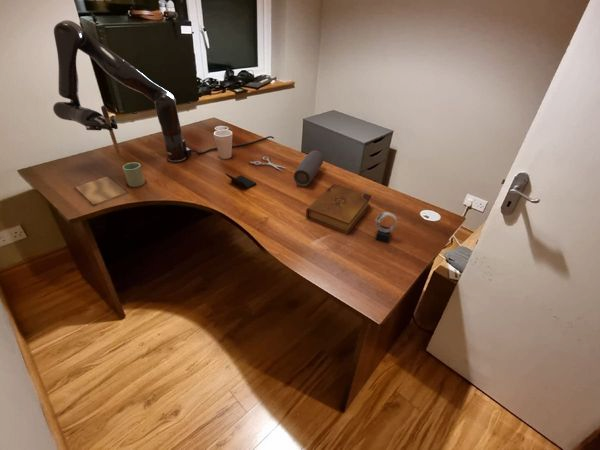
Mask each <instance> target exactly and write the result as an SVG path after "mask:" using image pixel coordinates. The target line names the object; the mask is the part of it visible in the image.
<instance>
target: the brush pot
mask: <svg viewBox="0 0 600 450" xmlns="http://www.w3.org/2000/svg"><path fill="white" fill-rule="evenodd" d="M122 171H123V174H124V177H125V180H126V183H127V186H128V187H133V188H134V187H141V186H142V185H144V184H145V183H146V179H145V176H144V172H143V169H142V165H141V163H139V162H136V161H134V162H133V161H132V162H127V163H125V164H124V165H122Z"/></svg>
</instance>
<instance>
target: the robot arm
mask: <svg viewBox="0 0 600 450" xmlns="http://www.w3.org/2000/svg"><path fill="white" fill-rule="evenodd" d="M53 36H54V37H53V38H54V40H55V47H56V52H57V54H56V55H57V61H58V78H57V79H58V85H57V86H58V95H59V96H61V98H64V99H68V100H70V101H57V102H55V103H54V104H53V106H52V110H53V114H54V115H55V116H56V117H57V118H59V119H61V120H65V121H71V122H76V123H78V124H80V125H82V126H84V127H85V129H86V131H98V132H99V131H102V130H106V131H109V130H110V131H112V130H113V131H114V130H118V129H119V127H118V123H117V120H116V117H115V115H110V116H109V118H110V121H111V125H112V126H111V125H109V124H106V121H105V118H104V116H103V113H101V112H99V111H96V110H94V109H91V108H88V107H83V106H82V105H81V100H80V97H79V75H78V69H77V57H78V51H79V50H80V52H82V53H84V54H86V55H87V56H89V57H90V58H91V59H93V61H94V62H96V64H97V65H98V66H99V67H100V68H101V69H102V70H103V71H104V73H106V74H107V75H109V76H110V77H111V78H112V79H114V80H115V81H117V83H120V84H122V85H123V86H124V87H127V88H128V89H131V90H133V91H136V92H138V93H140V94H142V95H143V96H146V98H148V99H149V100H151V101H152V102H153V103H154V109H155V113H156V116H157V120H158V123H159V126H160V131H161V134H162V138H163V143H164V147H165V152H166V155H167V160H168V162H171V163H180V162H184V161H186V160H187V159H188V158H189V156H192V152H194V153H196V154H198V155H203V154H207V153H208V152H211V151H216V150H218V149H217V147H213V148H208V149H207V150H204V151H198V150H195V149H191V148H189V147H187V144H186V141H185V139H184V137H183V133H182V128H181V122H180V119H179V118H180V117H179V113H178V108H177V100H176V98H175V96H174V95H173V94H172V93H171V92H169V90H167V89H165V88H163V87H161V86H159V85H158V84H156V83H155V82H153V81H152V80H151V79H150V78H148V77H147V76H146V75H145V74H143V73H142V72H140V70H138V69H137V68H136V67H134V66H133V65H132V64H131V63H129V62H128V61H126V60H125V59H123V58H122V57H121V56H120V55H118V54H117V53H115V52H114V51H112V50H111V49H109V48H108V47H106V46H105V45H103V44H102V43H100V42H99V41H98V40H96V39H95V38H94V37H93V36H92V35H91V34H90V33H88V32H87V31H86V30H85V29H84V28H82V26H81V25H79V24H78V23H76V22H75V21H73V20H68V19H67V20H66V19H64V20H61V21H60V22H58V23H56V24H55V26H54V27H53ZM268 139H273V140H274V139H275V137H274V136H273V135H268V136H266V137H262V138H259V139H257V140H253V141H249V142H245V143H241V144H236V145H232V148H238V147H243V146H248V145H251V144H255V143H258V142H261V141H265V140H268Z"/></svg>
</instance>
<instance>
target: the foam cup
mask: <svg viewBox="0 0 600 450" xmlns="http://www.w3.org/2000/svg"><path fill="white" fill-rule="evenodd" d="M233 135H234V134H233V131H232V130H229V129H218V130H215V131H214V132H213V139H214V141H215V146H216V148H217V149H216V150H217V152H218V156H219V158H220V159H223V160H226V159H230V158H232V156H233V155H232V153H233V147H232V146H233V137H234V136H233Z"/></svg>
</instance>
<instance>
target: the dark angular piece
mask: <svg viewBox="0 0 600 450" xmlns="http://www.w3.org/2000/svg"><path fill="white" fill-rule="evenodd" d="M225 175H226V176H227V177H228V178H229V179H230V180H231V182H232V183H234V184H236V185H239V186H240V187H242V188H244V189H246V190H248V189H251V188H252V187H254V186H256V185H257V182H255V181H253V180H251V179H249V178H247V177H245V176H243V175H241V174H240V175H238V176H236V177H234V176H233V175H231V174H228V173H225Z"/></svg>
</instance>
